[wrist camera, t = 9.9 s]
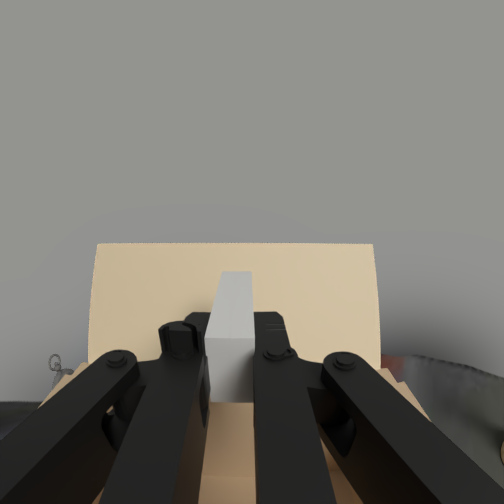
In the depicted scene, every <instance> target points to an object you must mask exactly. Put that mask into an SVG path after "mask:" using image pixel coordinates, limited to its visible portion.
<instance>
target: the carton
mask: <svg viewBox="0 0 504 504" xmlns="http://www.w3.org/2000/svg"><path fill="white" fill-rule="evenodd" d="M89 365H90V363H85V362H82V363H81V365H80V366H79V367H78V368H77V369H76V371H75V372H74V373H73V374H72V375H67V374H65V375H64V377H63V378H62V379H61V380H60V381H59V383H58V384H57V385H56V386H55V388H54V389H53V390H52V391H51V393H50V394H49V395H48V397H46V399H45V400H44V401H43V403H42V404H41V405H43V404H44V403H45V402H46V401H47V400H49V399H50V398H51V397H52V396H53V395H54V394H56V393H57V392H58V391H59V390H60V389H62V388H63V387H64V386H65V385H66V384H68V383H69V382H70V381H71V380H72V379H74V378H75V377H76V376H77V375H78V374H80V373H81V372H82V371H83V370H84V369H86V368H87V367H88V366H89ZM376 371H377V372H378V373H379V374H380V375H381V376H382V377H383V378H384V379H385V380H387V381H388V382H389V383H390V384H391V385H392V386H393V387H394V388H395V389H396V390H397V391H398V392H399V393H400V394H402V395H403V396H404V397H405V398H406V399H407V400H408V401H409V402H410V403H411V404H412V405H413V406H414V407H415V408H417V409H418V410H419V411H420V412H421V413H422V414H423V415H424V416H425V417H426V418H427V419H428V420H429V421H430V419H429V418H428V416H427V415H426V413H425V412H424V410H423V409H422V407H421V406H420V404H419V403H418V401H417V400H416V399H415V397H414V396H413V394H412V393H411V391H410V390H409V388H408V387H407V385H406V384H405V383H404V382H400V383H397V382H396V381H395V379H394V378H393V376H392V375H391V373H390V372H389V370H388V369H387V368H384V369H378V370H376ZM253 404H254V403H225V402H211V398H210V397H209V409H210V415H209V423H208V430H207V437H206V445H205V453H204V460H203V468H202V476H201V484H200V492H199V501H198V504H256V487H255V453H254V427H253ZM41 405H40V406H41ZM40 406H39V407H40ZM112 409H113V407H112V406H111V407H110V408H109V410H108V411H107V413H108V412H110V411H111V410H112ZM320 439H321V438H320ZM321 443H322V447H323V451H324V454H325V458H326V462H327V466H328V470H329V474H330V478H331V482H332V486H333V490H334V494H335V498H336V502H337V504H363V502H362V501H361V499H360V498H359V496H358V495H357V493H356V492H355V491H354V489H353V488H352V486H351V485H350V483H349V482H348V480H347V479H346V477H345V475H344V474H343V472H342V471H341V469H340V468H339V466H338V465H337V463H336V462H335V460H334V459H333V457H332V456H331V454H330V452H329V451H328V449H327V448H326V446H325V445H324V443H323V441H322V440H321ZM103 490H104V488H103ZM103 490H102V491H101V492H100V494H99V495H98V496H97V498H96V499H95V500H94V502H93V503H92V504H98V503H99V500H100V498H101V495H102V492H103Z"/></svg>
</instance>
